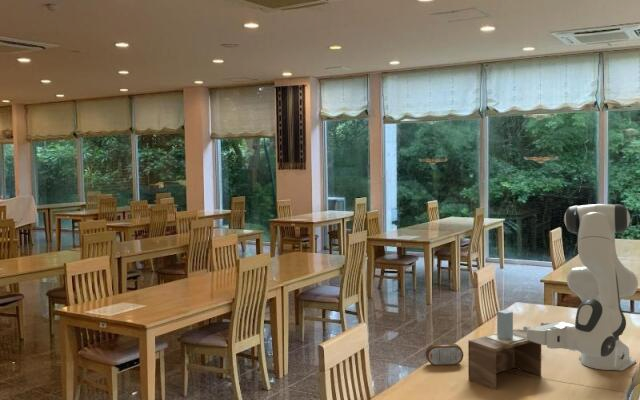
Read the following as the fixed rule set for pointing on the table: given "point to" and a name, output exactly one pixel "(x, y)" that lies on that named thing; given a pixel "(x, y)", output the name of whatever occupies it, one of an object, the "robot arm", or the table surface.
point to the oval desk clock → (444, 354)
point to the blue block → (504, 324)
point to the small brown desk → (501, 357)
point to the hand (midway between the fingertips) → (533, 326)
